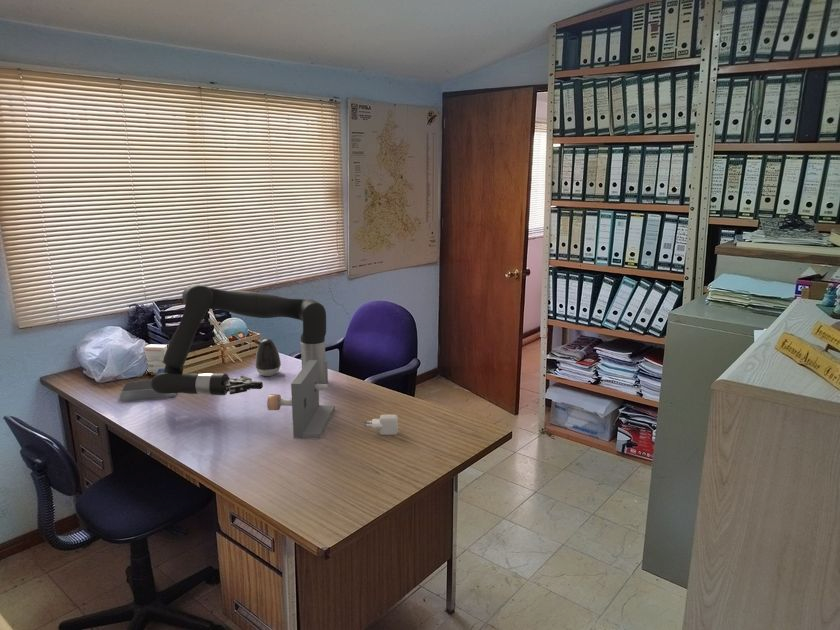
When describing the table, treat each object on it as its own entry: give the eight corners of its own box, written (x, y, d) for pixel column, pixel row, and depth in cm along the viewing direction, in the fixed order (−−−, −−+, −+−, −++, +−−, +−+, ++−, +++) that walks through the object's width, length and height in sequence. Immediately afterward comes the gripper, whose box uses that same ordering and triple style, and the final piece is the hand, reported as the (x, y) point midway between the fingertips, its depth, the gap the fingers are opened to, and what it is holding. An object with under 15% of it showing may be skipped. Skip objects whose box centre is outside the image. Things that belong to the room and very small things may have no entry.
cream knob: (295, 395, 203) (294, 381, 202) (299, 390, 208) (298, 376, 207) (326, 396, 203) (325, 382, 202) (328, 391, 208) (328, 377, 207)
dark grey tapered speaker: (260, 369, 253) (258, 335, 250) (284, 370, 252) (282, 335, 249) (251, 377, 244) (249, 341, 240) (276, 378, 243) (274, 342, 239)
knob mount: (293, 438, 189) (291, 383, 184) (310, 408, 212) (308, 360, 208) (320, 438, 188) (318, 384, 184) (334, 409, 211) (333, 360, 207)
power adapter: (362, 436, 190) (362, 419, 189) (363, 430, 195) (363, 413, 193) (398, 436, 190) (397, 419, 189) (398, 430, 195) (398, 413, 194)
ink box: (172, 371, 251) (169, 344, 248) (165, 375, 246) (163, 347, 243) (152, 370, 252) (149, 343, 249) (146, 374, 247) (143, 346, 244)
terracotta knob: (267, 412, 189) (266, 397, 188) (272, 406, 194) (271, 391, 193) (300, 413, 189) (299, 398, 187) (304, 407, 194) (303, 392, 192)
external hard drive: (176, 398, 222) (175, 387, 221) (118, 403, 217) (117, 393, 216) (179, 386, 234) (178, 376, 233) (124, 391, 229) (123, 381, 228)
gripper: (204, 380, 199) (255, 381, 199) (218, 367, 212) (267, 368, 211) (205, 401, 201) (256, 402, 200) (220, 387, 214) (268, 389, 213)
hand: (262, 385), depth 206 cm, fingers closed
